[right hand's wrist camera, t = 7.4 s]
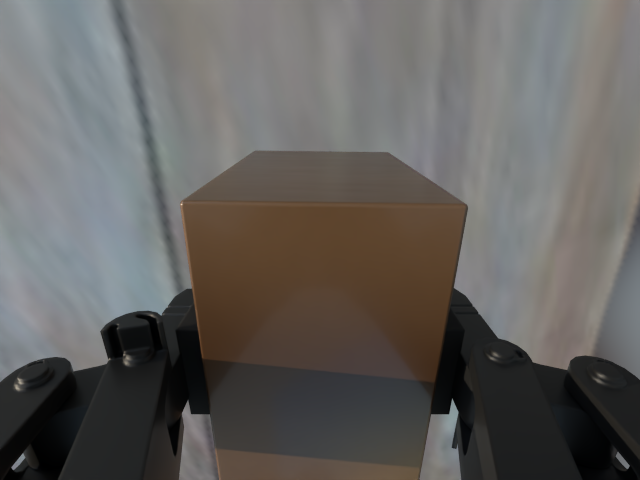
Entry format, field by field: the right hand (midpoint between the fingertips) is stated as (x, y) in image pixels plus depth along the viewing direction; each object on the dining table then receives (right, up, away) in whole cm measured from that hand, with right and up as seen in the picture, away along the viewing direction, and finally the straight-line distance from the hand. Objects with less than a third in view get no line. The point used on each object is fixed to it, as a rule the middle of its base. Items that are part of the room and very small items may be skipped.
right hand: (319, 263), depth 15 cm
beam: (0, -23, +10) cm, 25 cm away
